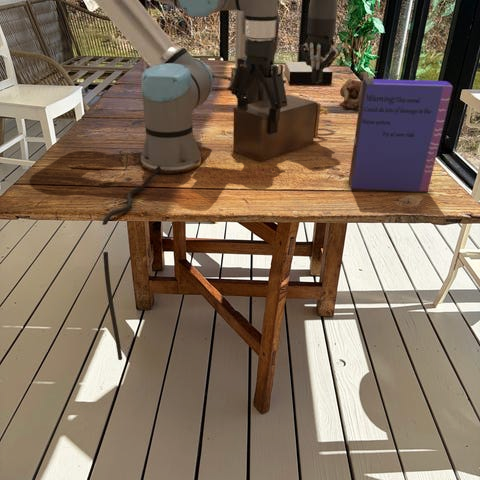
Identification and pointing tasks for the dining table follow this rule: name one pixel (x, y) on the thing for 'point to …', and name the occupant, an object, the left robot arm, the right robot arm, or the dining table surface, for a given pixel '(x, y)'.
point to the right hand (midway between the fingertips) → (316, 82)
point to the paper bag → (239, 38)
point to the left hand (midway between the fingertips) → (257, 127)
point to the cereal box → (398, 134)
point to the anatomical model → (352, 91)
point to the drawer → (318, 112)
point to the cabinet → (288, 134)
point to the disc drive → (304, 73)
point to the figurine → (230, 77)
